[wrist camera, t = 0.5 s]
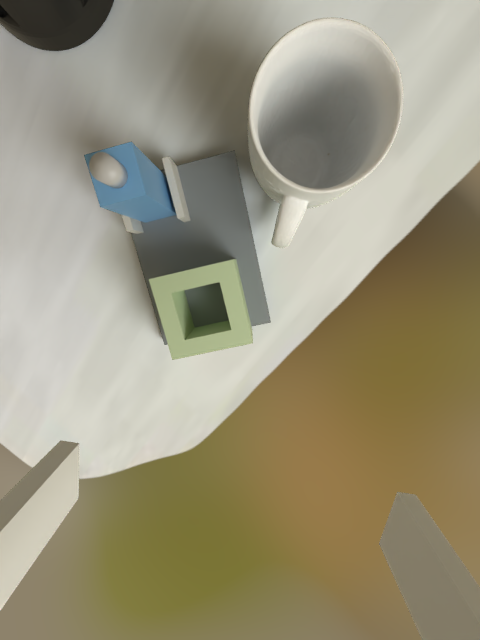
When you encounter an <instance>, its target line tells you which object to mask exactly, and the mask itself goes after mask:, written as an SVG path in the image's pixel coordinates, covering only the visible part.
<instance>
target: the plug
mask: <svg viewBox="0 0 480 640" xmlns="http://www.w3.org/2000/svg"><path fill="white" fill-rule="evenodd" d="M84 156H85V160H86V163H87V166H88V169H89V172H90V175H91V179H92V182H93V185H94V188H95V191H96V194H97V198H98V201H99V204H100V207H102V208H105V209H107V210H110V211H113V212H116V213H119V214H122V215H125V216H127V217H130V218H133V219H136V220H139V221H142V222H145V223H146V222H150V221H154V220H158V219H162V218H166V217H170V216H174V215H176V211H175V207H174V203H173V199H172V196H171V192H170V188H169V184H168V180H167V177H166V176H165V175H164V174H163V173H162V172H161V171H160V170H159V169H158V168H157V167H156V166H155V165H154V164H153V163H152V162H151V161H150V160H149V159H148V158H147V157H146V156H145V155H144V154H143V153H142V152H141V151H140V150H139V149H138V148H137V147H136V146H135V145H134V144H133V143H132V142H129V143H125V144H121V145H118V146H114V147H111V148H107V149H104V150H100V151H96V152H93V153H89V154H86V155H84Z"/></svg>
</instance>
